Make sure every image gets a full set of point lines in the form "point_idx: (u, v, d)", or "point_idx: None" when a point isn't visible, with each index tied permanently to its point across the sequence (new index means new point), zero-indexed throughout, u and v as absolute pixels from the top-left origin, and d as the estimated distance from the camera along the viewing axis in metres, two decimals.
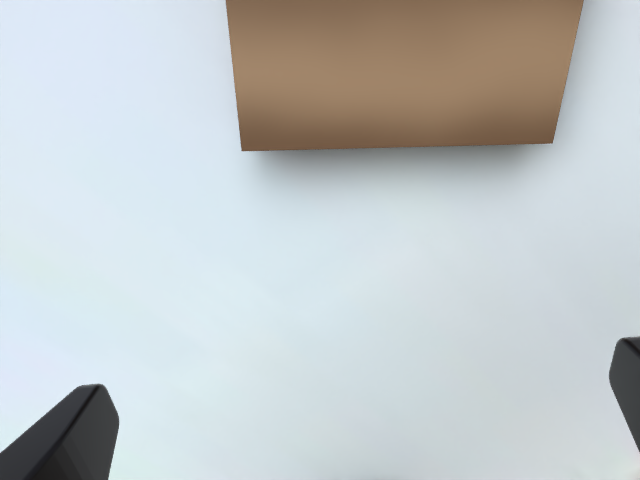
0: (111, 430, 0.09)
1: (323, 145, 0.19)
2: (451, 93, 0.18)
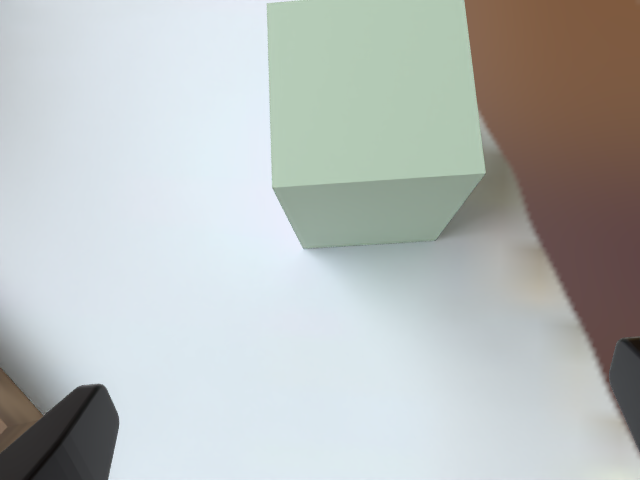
0: (111, 430, 0.09)
1: None
2: None
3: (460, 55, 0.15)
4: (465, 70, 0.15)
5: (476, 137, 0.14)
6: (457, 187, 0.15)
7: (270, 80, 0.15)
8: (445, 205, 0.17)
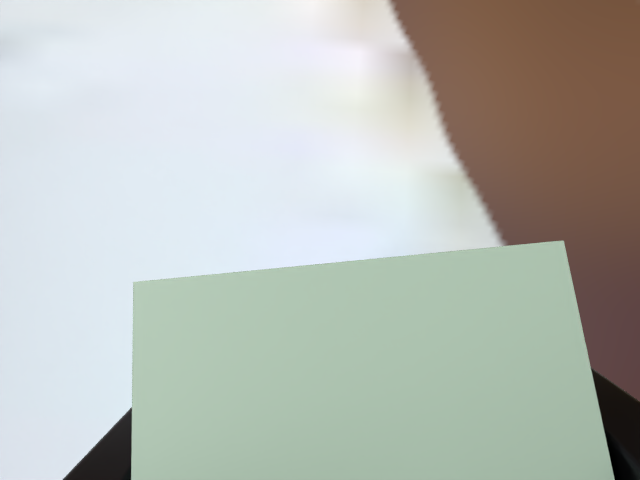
0: None
1: None
2: None
3: (577, 421, 0.06)
4: (593, 464, 0.06)
5: None
6: None
7: None
8: None
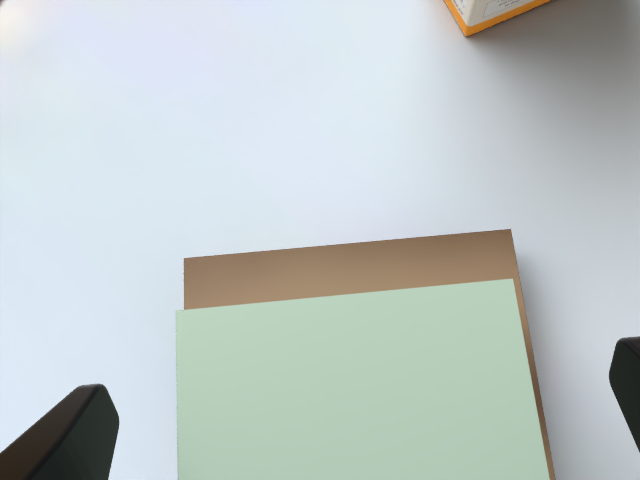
0: (111, 430, 0.09)
1: None
2: None
3: (519, 420, 0.08)
4: (531, 452, 0.08)
5: None
6: None
7: (180, 468, 0.08)
8: None
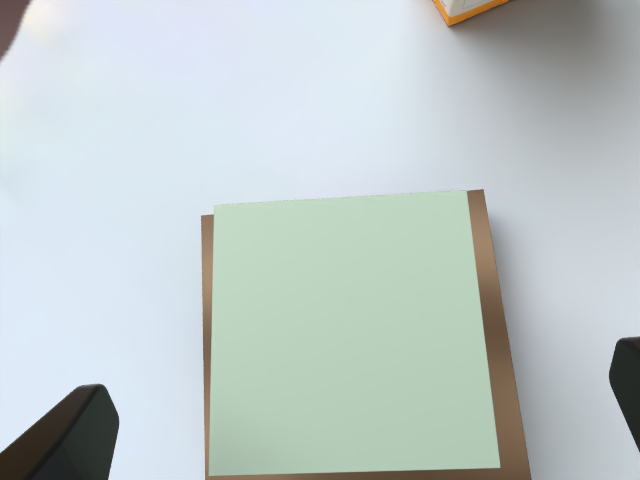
0: (111, 430, 0.09)
1: None
2: None
3: (464, 288, 0.11)
4: (471, 310, 0.11)
5: (487, 411, 0.10)
6: None
7: (213, 314, 0.11)
8: None
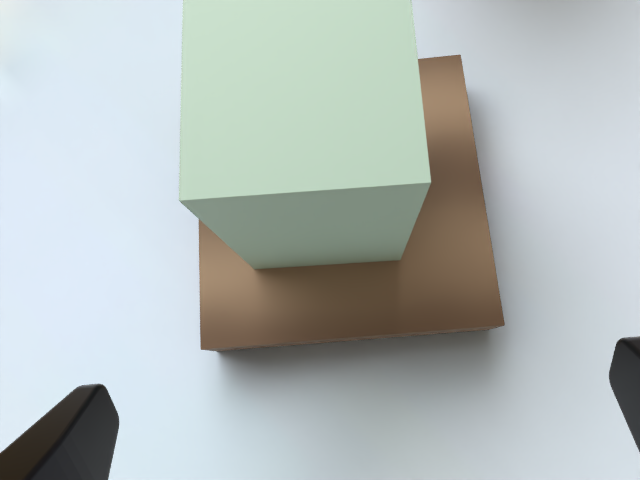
0: (111, 430, 0.09)
1: (278, 339, 0.20)
2: (393, 283, 0.20)
3: (404, 45, 0.13)
4: (409, 62, 0.13)
5: (420, 140, 0.12)
6: (403, 199, 0.13)
7: (183, 75, 0.13)
8: (397, 221, 0.15)
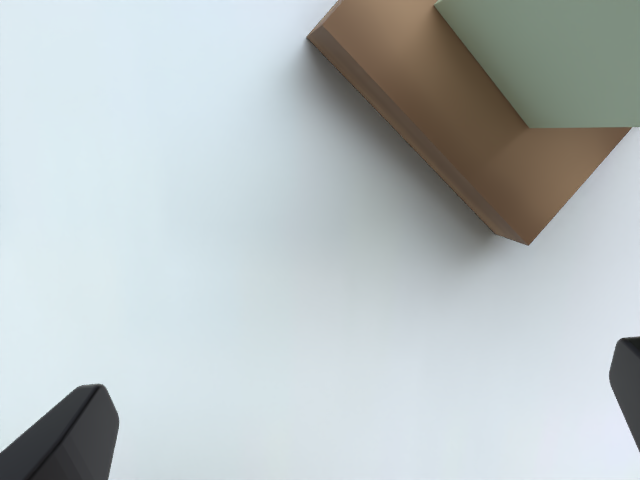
0: (111, 430, 0.09)
1: (388, 89, 0.18)
2: (501, 141, 0.20)
3: None
4: None
5: None
6: None
7: None
8: None
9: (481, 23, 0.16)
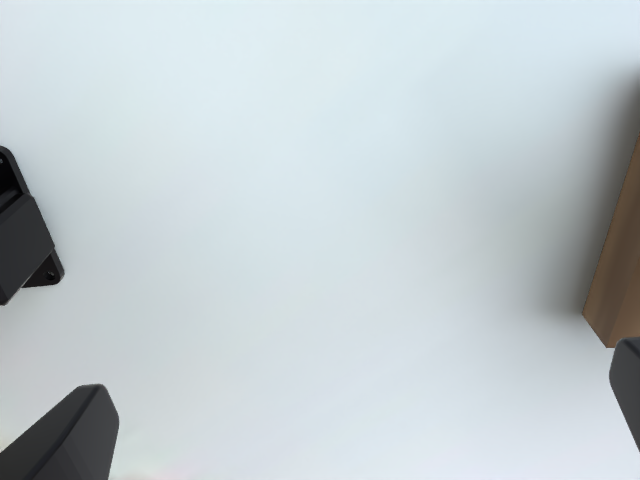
0: (111, 430, 0.09)
1: None
2: None
3: None
4: None
5: None
6: None
7: None
8: None
9: None
